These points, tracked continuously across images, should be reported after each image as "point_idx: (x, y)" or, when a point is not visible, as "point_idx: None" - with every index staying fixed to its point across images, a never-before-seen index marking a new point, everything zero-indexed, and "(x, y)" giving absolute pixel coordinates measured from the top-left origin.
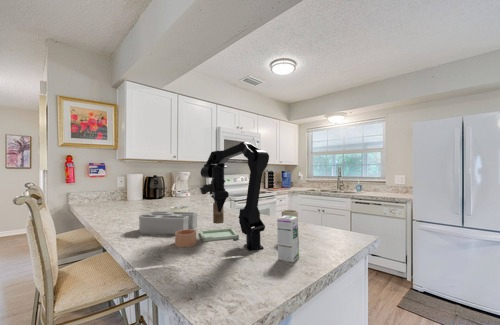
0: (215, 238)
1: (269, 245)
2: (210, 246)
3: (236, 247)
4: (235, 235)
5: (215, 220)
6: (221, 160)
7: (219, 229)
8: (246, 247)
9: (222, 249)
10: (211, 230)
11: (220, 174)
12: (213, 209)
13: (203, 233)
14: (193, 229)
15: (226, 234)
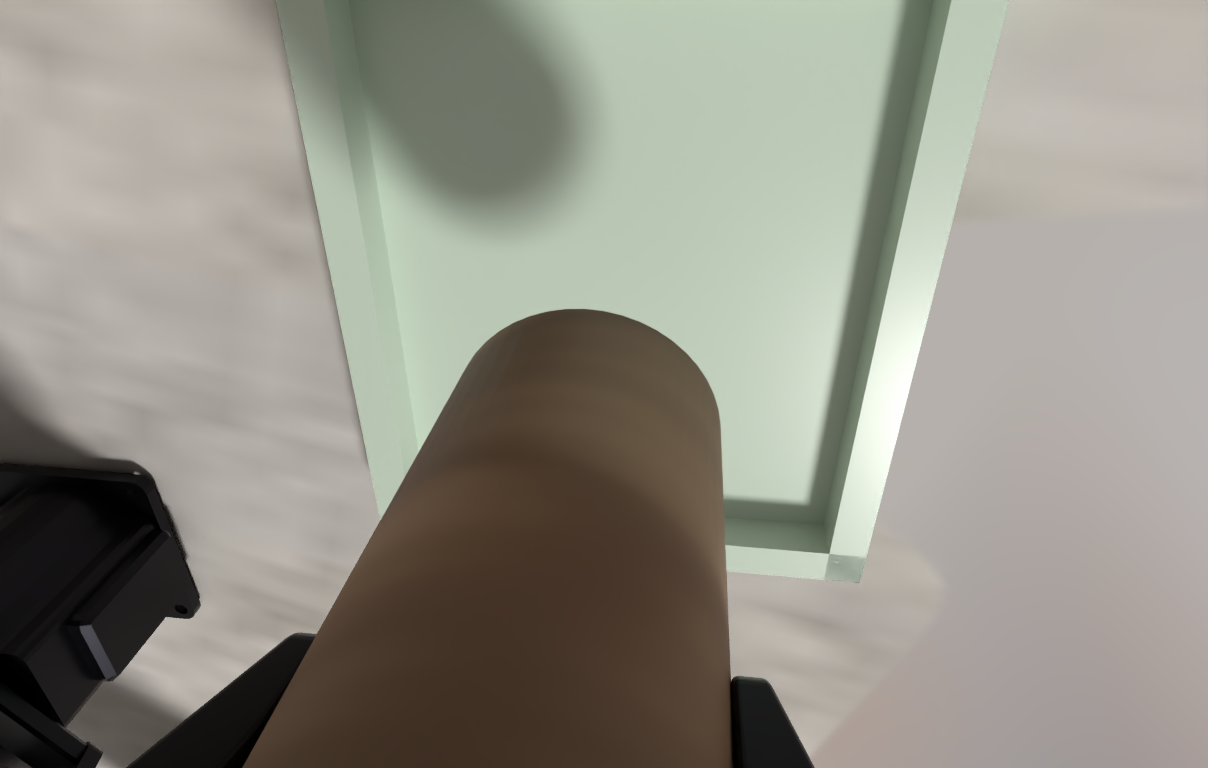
0: (323, 192)
1: (163, 664)
2: (132, 46)
3: (94, 386)
4: (378, 503)
5: (459, 383)
6: None
7: (865, 385)
8: (27, 474)
9: (3, 203)
10: (899, 223)
11: None
12: (449, 599)
13: (918, 15)
14: None
15: None
